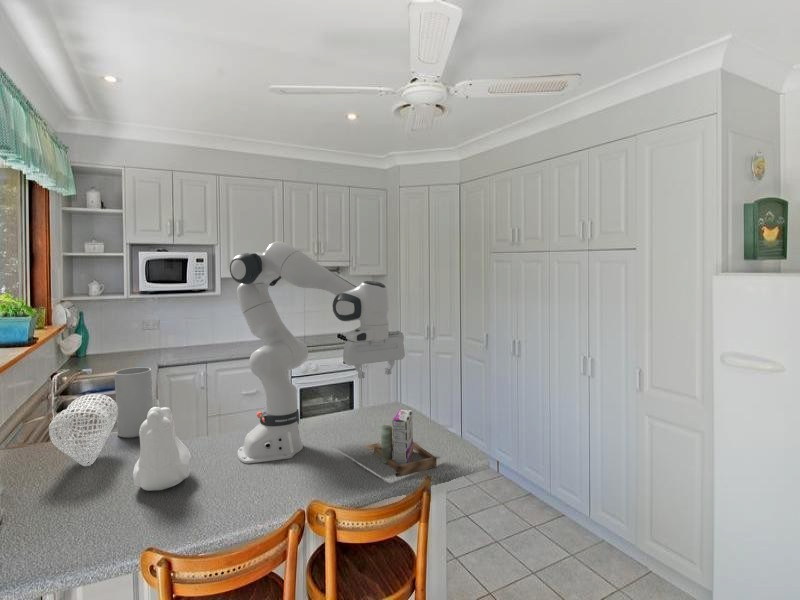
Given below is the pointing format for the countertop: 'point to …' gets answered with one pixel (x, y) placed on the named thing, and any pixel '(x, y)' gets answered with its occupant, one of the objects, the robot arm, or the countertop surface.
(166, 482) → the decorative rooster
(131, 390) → the cylinder vase
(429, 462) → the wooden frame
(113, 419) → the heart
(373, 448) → the broken slat
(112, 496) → the countertop surface
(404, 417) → the candy bar box
